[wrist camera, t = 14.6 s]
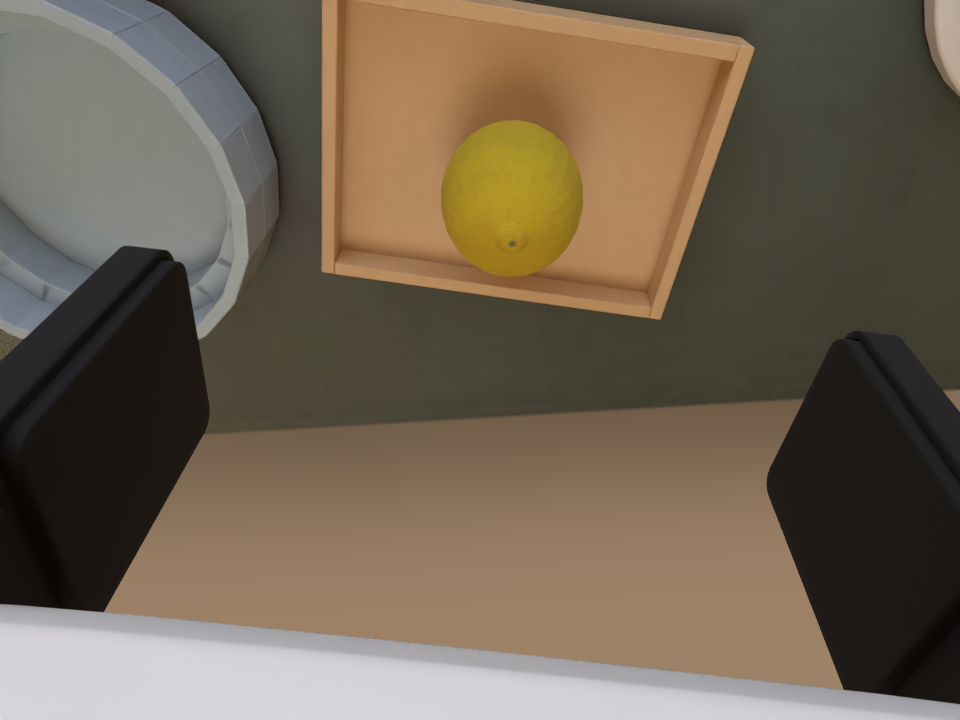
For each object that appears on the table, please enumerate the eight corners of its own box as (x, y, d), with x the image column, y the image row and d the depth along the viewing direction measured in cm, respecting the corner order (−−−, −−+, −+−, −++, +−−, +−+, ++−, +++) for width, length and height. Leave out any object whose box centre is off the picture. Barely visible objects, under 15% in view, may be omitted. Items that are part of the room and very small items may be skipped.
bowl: (275, 4, 27) (232, 29, 23) (286, 322, 36) (257, 380, 32) (-120, -58, 26) (-235, -44, 22) (-9, 282, 35) (-77, 336, 31)
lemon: (484, 239, 32) (477, 333, 26) (425, 133, 29) (401, 209, 23) (594, 189, 31) (616, 276, 24) (543, 72, 28) (553, 134, 21)
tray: (741, 37, 27) (755, 47, 26) (653, 298, 34) (660, 320, 33) (333, -29, 26) (321, -23, 25) (330, 253, 34) (321, 272, 32)
